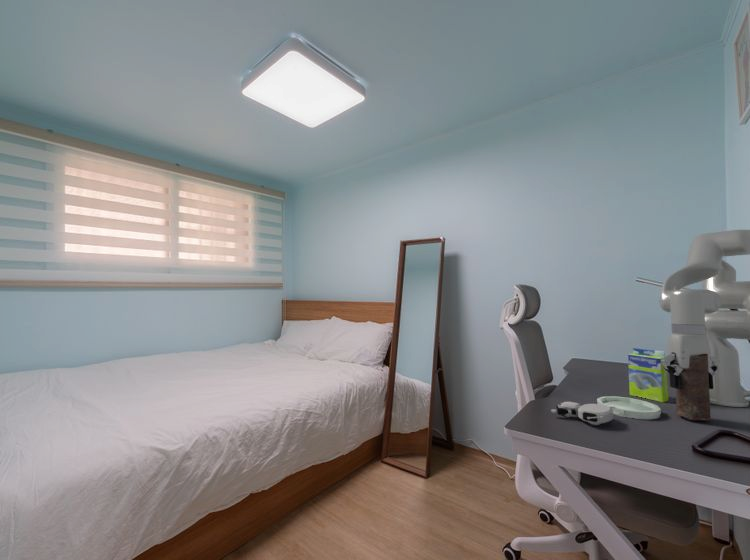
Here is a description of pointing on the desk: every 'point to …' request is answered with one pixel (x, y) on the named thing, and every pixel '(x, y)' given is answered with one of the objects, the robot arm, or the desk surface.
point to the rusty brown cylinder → (694, 390)
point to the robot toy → (586, 412)
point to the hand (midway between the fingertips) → (691, 388)
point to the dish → (631, 407)
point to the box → (647, 375)
